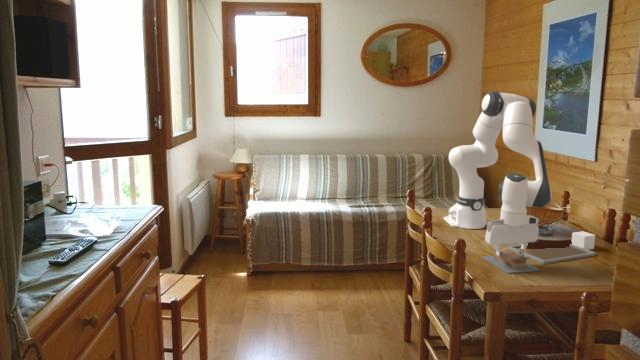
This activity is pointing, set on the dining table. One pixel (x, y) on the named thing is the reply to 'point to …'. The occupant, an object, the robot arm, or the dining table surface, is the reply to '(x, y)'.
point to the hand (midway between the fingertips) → (510, 254)
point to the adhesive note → (583, 240)
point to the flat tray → (554, 253)
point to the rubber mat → (507, 268)
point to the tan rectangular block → (511, 258)
